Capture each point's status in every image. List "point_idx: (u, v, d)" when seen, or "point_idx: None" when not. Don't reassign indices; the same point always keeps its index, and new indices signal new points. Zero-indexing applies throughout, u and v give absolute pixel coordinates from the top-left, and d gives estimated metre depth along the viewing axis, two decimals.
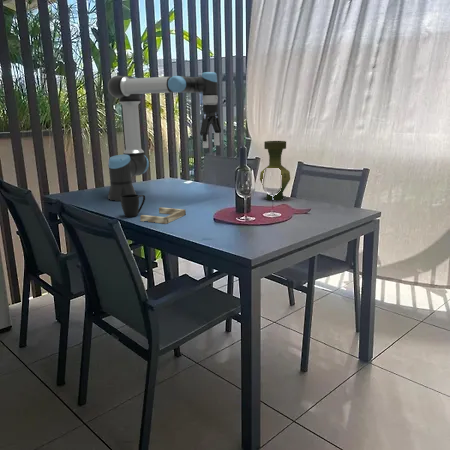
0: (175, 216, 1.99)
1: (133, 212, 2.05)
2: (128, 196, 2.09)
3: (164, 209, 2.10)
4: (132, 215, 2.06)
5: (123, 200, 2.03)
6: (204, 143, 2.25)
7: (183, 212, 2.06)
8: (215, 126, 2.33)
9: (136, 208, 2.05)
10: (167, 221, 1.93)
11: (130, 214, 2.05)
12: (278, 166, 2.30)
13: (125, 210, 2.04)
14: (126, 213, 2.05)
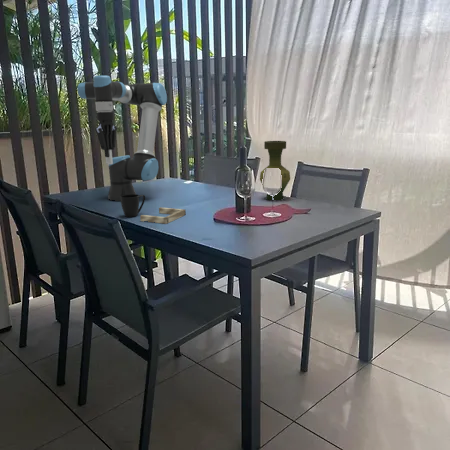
0: (175, 216, 1.99)
1: (133, 212, 2.05)
2: (128, 196, 2.09)
3: (164, 209, 2.10)
4: (132, 215, 2.06)
5: (123, 200, 2.03)
6: (106, 159, 2.07)
7: (183, 212, 2.06)
8: (109, 138, 2.05)
9: (136, 208, 2.05)
10: (167, 221, 1.93)
11: (130, 214, 2.05)
12: (278, 166, 2.30)
13: (125, 210, 2.04)
14: (126, 213, 2.05)
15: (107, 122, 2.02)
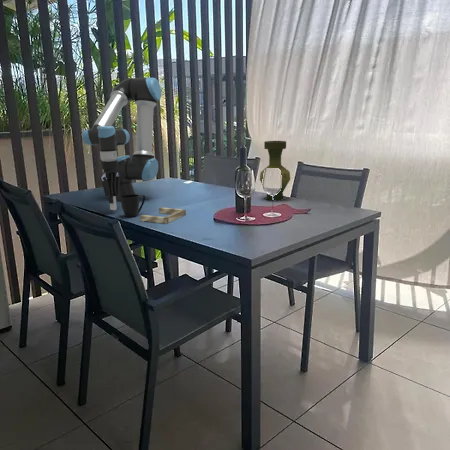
0: (175, 216, 1.99)
1: (133, 212, 2.05)
2: (128, 196, 2.09)
3: (164, 209, 2.10)
4: (132, 215, 2.06)
5: (123, 200, 2.03)
6: (111, 205, 2.13)
7: (183, 212, 2.06)
8: (113, 185, 2.11)
9: (136, 208, 2.05)
10: (167, 221, 1.93)
11: (130, 214, 2.05)
12: (278, 166, 2.30)
13: (125, 210, 2.04)
14: (126, 213, 2.05)
15: (111, 170, 2.08)
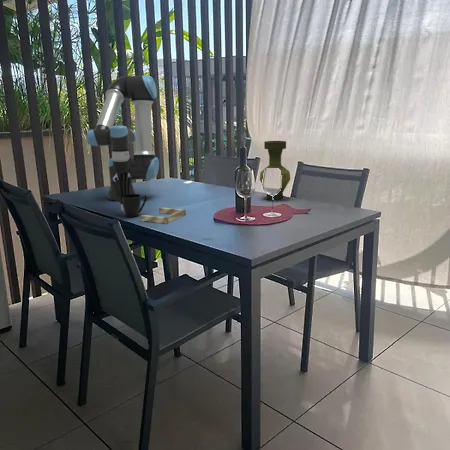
0: (175, 216, 1.99)
1: (134, 212, 2.05)
2: (130, 195, 2.09)
3: (164, 209, 2.10)
4: (133, 215, 2.05)
5: (125, 200, 2.02)
6: (122, 206, 2.10)
7: (183, 212, 2.06)
8: (125, 186, 2.08)
9: (137, 208, 2.05)
10: (167, 221, 1.93)
11: (131, 214, 2.05)
12: (278, 166, 2.30)
13: (126, 210, 2.04)
14: (127, 213, 2.05)
15: (123, 170, 2.05)
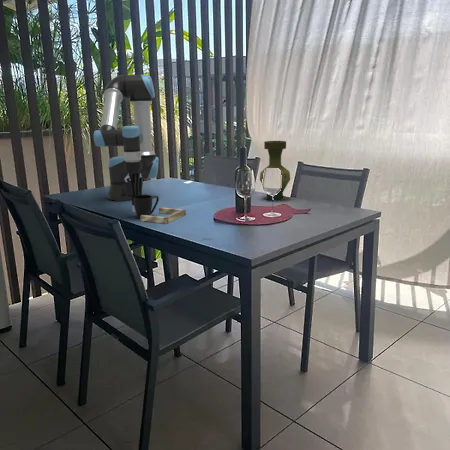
0: (175, 216, 1.99)
1: (145, 213, 2.02)
2: (141, 196, 2.06)
3: (164, 209, 2.10)
4: None
5: (136, 201, 2.00)
6: (133, 207, 2.07)
7: (183, 212, 2.06)
8: (136, 186, 2.05)
9: (149, 209, 2.02)
10: (167, 221, 1.93)
11: None
12: (278, 166, 2.30)
13: (137, 211, 2.01)
14: (138, 214, 2.02)
15: (135, 171, 2.03)
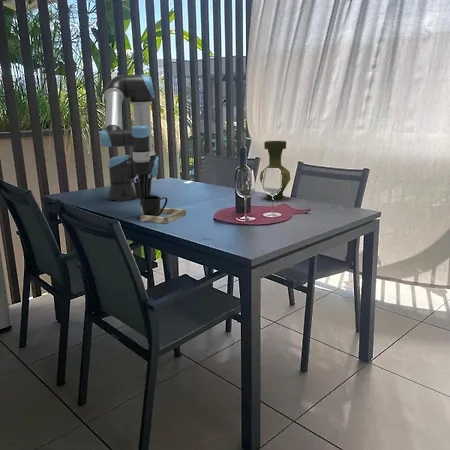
0: (175, 216, 1.99)
1: (153, 215, 2.00)
2: (150, 197, 2.04)
3: (164, 209, 2.10)
4: None
5: (143, 202, 1.98)
6: None
7: (183, 212, 2.06)
8: (145, 187, 2.03)
9: (156, 211, 2.00)
10: (167, 221, 1.93)
11: None
12: (278, 166, 2.30)
13: (145, 212, 1.99)
14: None
15: (144, 171, 2.01)
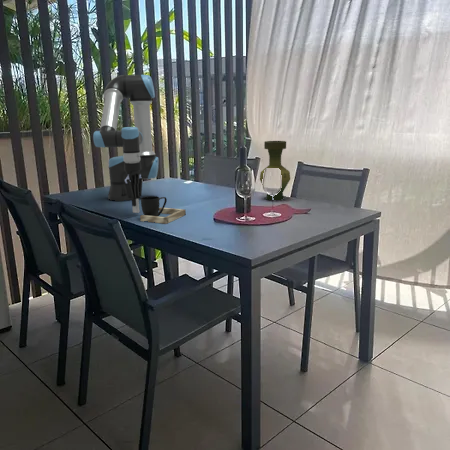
0: (175, 216, 1.99)
1: (152, 215, 2.00)
2: (149, 198, 2.04)
3: (164, 209, 2.10)
4: None
5: (142, 202, 1.98)
6: (133, 207, 2.08)
7: (183, 212, 2.06)
8: (136, 187, 2.06)
9: (156, 211, 2.00)
10: (167, 221, 1.93)
11: None
12: (278, 166, 2.30)
13: (144, 212, 2.00)
14: None
15: (134, 172, 2.03)
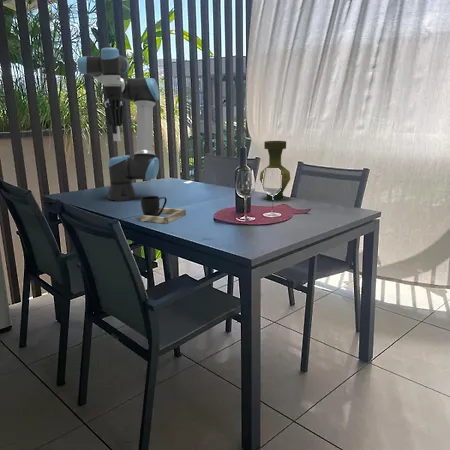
0: (175, 216, 1.99)
1: (152, 215, 2.00)
2: (149, 198, 2.04)
3: (164, 209, 2.10)
4: None
5: (142, 202, 1.98)
6: (114, 135, 2.00)
7: (183, 212, 2.06)
8: (117, 114, 1.98)
9: (156, 211, 2.00)
10: (167, 221, 1.93)
11: None
12: (278, 166, 2.30)
13: (144, 212, 2.00)
14: None
15: (115, 97, 1.95)
